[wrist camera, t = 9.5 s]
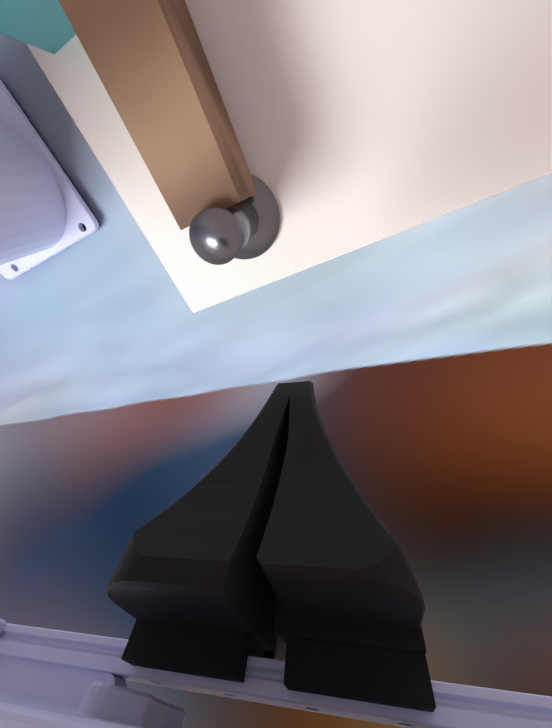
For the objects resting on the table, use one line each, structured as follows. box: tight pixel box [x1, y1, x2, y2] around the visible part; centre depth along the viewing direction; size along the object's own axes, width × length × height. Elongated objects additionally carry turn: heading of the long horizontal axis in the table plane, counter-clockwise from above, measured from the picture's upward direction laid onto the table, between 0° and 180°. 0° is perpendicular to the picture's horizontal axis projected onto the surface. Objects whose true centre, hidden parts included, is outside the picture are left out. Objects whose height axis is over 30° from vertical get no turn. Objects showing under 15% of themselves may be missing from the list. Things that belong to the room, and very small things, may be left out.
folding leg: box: [58, 0, 259, 265], centre depth 11 cm, size 16×3×5 cm, turn 23°
